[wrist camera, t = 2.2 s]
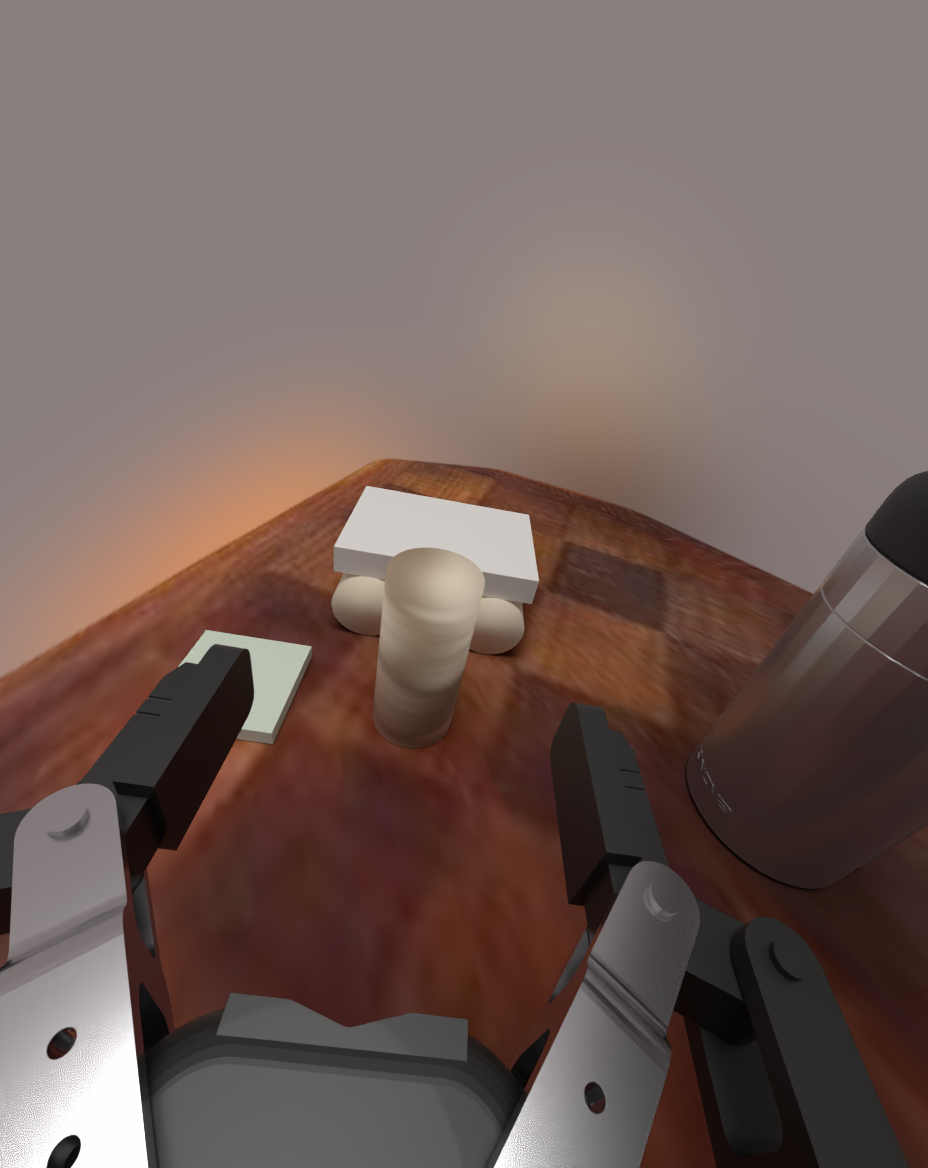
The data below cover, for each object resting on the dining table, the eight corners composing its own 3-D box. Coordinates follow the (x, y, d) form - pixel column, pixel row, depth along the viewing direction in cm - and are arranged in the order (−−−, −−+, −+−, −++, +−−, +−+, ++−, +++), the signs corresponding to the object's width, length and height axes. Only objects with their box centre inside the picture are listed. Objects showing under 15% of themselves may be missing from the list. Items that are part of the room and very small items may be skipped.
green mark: (311, 657, 32) (311, 646, 31) (272, 744, 26) (271, 733, 26) (208, 641, 31) (206, 630, 31) (145, 726, 26) (141, 714, 25)
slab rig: (510, 577, 44) (528, 512, 40) (515, 658, 35) (539, 585, 31) (364, 552, 43) (367, 483, 39) (331, 629, 34) (331, 550, 30)
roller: (453, 690, 32) (485, 556, 25) (448, 754, 28) (484, 614, 21) (381, 679, 31) (395, 540, 25) (364, 742, 27) (376, 595, 21)
